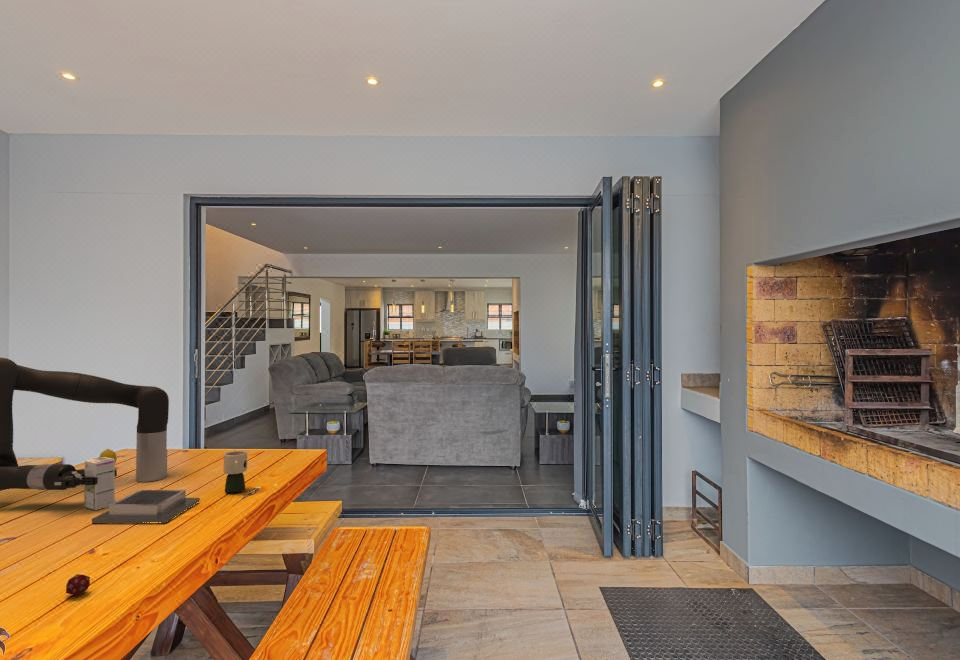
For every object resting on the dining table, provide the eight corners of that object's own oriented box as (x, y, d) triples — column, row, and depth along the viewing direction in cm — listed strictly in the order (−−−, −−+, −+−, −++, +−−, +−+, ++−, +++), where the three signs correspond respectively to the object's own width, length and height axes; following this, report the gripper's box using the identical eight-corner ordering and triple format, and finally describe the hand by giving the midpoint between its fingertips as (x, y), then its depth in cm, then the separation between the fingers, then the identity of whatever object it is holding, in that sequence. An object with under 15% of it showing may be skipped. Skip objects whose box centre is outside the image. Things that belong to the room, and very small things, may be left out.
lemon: (106, 472, 191) (107, 450, 191) (94, 471, 192) (95, 450, 192) (119, 468, 196) (120, 447, 197) (108, 467, 198) (108, 447, 198)
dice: (72, 590, 104) (73, 570, 104) (95, 589, 104) (96, 570, 104) (59, 600, 100) (59, 579, 100) (83, 599, 100) (83, 578, 100)
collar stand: (134, 502, 157) (135, 488, 157) (199, 502, 158) (199, 488, 158) (91, 524, 139) (92, 507, 139) (165, 524, 140) (165, 507, 140)
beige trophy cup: (248, 494, 166) (248, 455, 166) (224, 498, 162) (224, 457, 163) (245, 485, 175) (245, 448, 176) (222, 488, 172) (223, 450, 172)
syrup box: (115, 505, 155) (116, 457, 155) (94, 511, 149) (94, 462, 149) (104, 502, 157) (105, 455, 157) (83, 508, 152) (83, 460, 152)
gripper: (31, 471, 146) (89, 471, 146) (70, 458, 160) (123, 458, 160) (31, 496, 146) (88, 497, 146) (70, 482, 160) (122, 482, 160)
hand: (106, 477), depth 153 cm, fingers closed on syrup box, 7 cm apart
